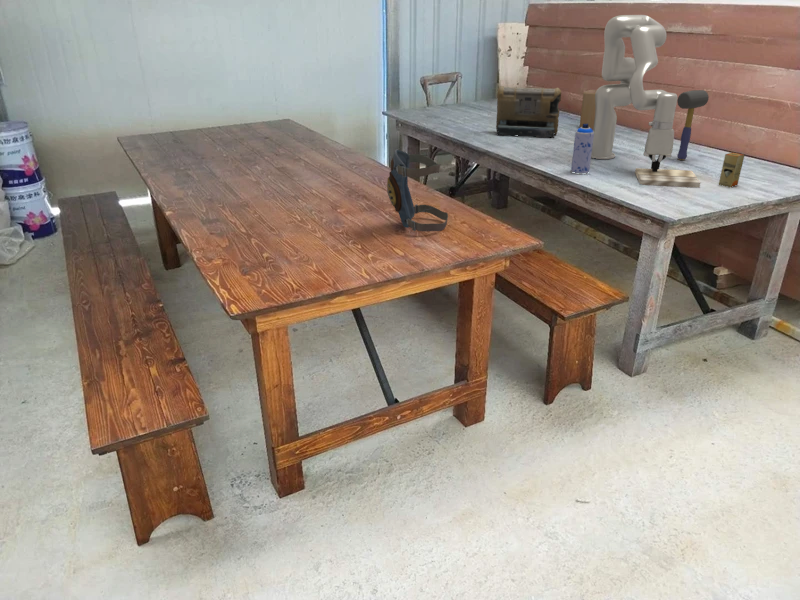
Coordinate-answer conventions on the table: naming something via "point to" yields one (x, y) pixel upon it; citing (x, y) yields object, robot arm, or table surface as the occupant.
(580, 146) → the aerosol can
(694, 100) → the rubber mallet
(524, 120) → the brown boxy block
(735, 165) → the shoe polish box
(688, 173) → the pale ash plank
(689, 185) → the streaked tan wood board
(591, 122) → the wooden block
